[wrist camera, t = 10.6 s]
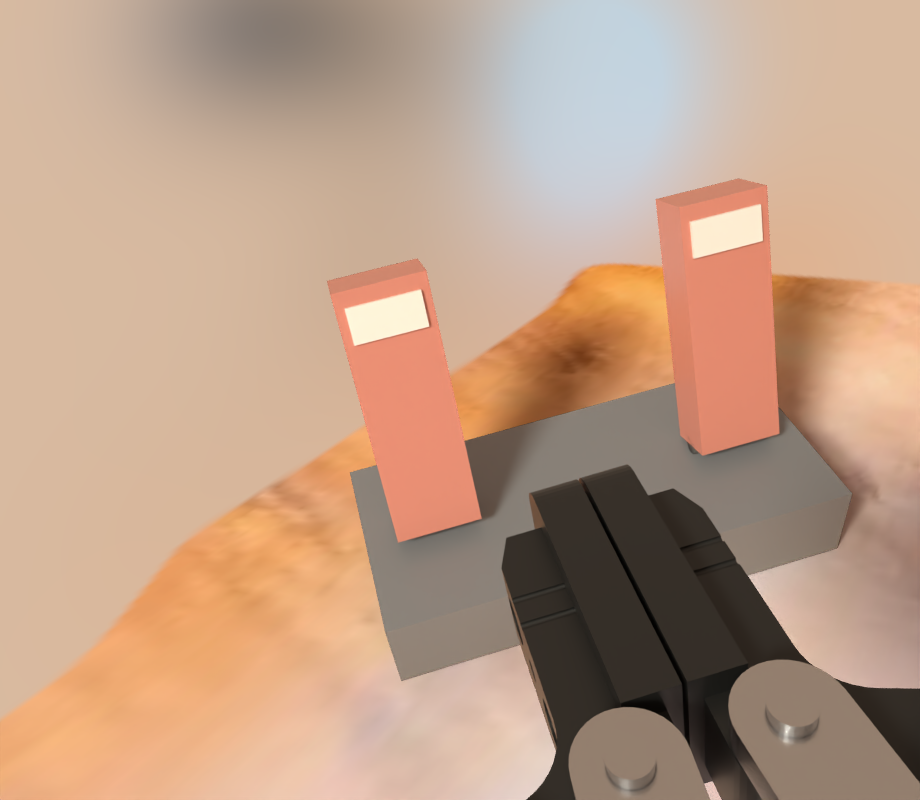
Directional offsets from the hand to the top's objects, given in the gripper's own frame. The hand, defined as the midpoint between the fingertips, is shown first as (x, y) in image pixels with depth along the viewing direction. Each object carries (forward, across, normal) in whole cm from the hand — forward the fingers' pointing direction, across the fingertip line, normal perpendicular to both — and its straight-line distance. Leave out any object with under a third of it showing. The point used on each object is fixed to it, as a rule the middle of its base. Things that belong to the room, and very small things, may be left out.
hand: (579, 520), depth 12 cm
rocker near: (+20, +2, +19) cm, 28 cm away
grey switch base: (+21, -5, +23) cm, 32 cm away
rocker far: (+21, -13, +19) cm, 31 cm away
